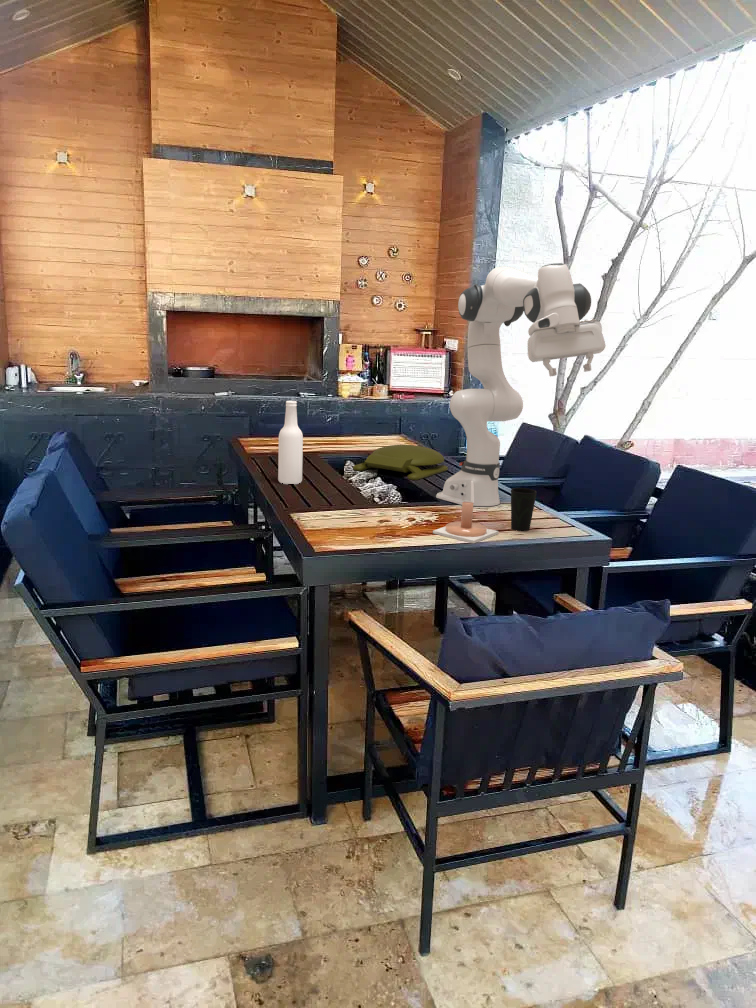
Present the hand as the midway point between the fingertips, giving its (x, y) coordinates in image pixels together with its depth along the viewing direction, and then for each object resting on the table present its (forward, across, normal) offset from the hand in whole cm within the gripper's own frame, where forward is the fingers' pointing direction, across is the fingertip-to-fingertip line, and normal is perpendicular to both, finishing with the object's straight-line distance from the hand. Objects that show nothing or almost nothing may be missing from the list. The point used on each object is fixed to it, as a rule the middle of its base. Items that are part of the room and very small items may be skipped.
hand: (570, 373), depth 202 cm
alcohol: (+8, +81, -86) cm, 119 cm away
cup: (+38, +12, -34) cm, 53 cm away
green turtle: (+6, +36, -118) cm, 123 cm away
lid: (+37, +29, -27) cm, 54 cm away
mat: (+37, +30, -28) cm, 55 cm away
